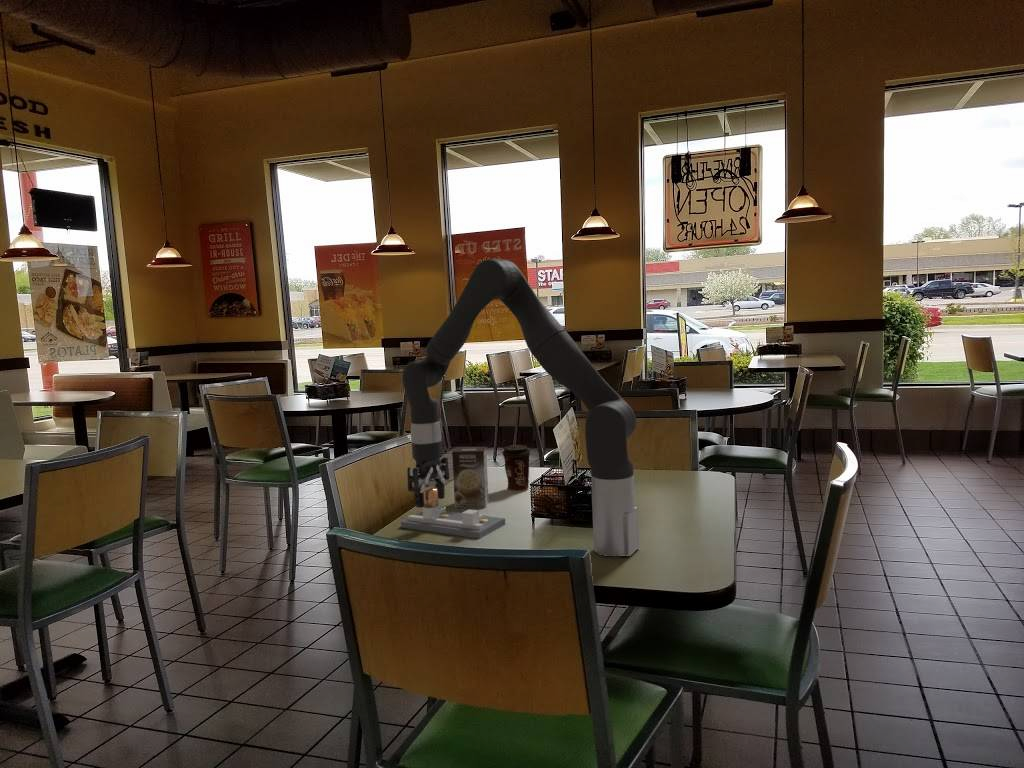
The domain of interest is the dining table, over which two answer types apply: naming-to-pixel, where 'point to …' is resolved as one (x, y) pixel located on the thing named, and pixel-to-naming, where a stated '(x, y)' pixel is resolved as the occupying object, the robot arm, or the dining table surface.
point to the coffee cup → (517, 467)
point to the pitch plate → (456, 523)
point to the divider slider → (431, 503)
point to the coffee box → (470, 477)
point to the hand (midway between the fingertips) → (430, 502)
